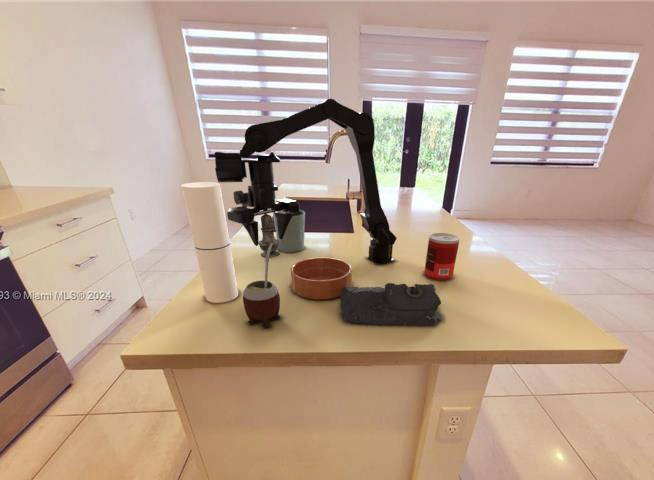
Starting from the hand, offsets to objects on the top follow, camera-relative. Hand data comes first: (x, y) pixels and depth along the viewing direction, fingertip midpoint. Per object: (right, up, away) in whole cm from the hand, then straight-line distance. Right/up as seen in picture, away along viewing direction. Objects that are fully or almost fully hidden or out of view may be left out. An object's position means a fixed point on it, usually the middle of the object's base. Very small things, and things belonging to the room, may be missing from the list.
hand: (269, 242), depth 85 cm
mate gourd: (+5, -20, -20) cm, 29 cm away
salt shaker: (0, -3, +2) cm, 4 cm away
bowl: (+15, -12, -6) cm, 20 cm away
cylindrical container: (-8, -15, -11) cm, 20 cm away
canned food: (+47, -9, +2) cm, 48 cm away
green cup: (+2, +1, +19) cm, 20 cm away
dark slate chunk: (+31, -17, -15) cm, 38 cm away
